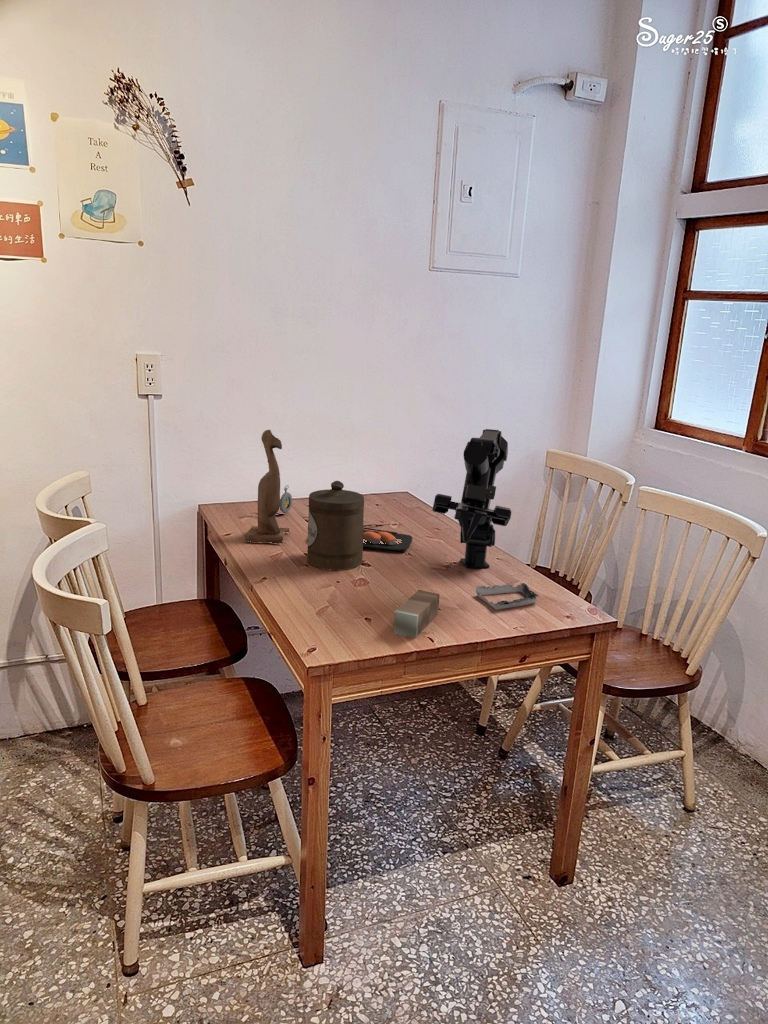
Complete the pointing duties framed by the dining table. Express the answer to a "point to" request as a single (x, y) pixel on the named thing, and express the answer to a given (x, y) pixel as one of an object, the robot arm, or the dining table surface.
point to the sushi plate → (385, 539)
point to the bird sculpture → (268, 498)
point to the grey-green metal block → (416, 613)
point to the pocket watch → (285, 501)
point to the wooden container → (335, 528)
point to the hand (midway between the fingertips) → (465, 542)
